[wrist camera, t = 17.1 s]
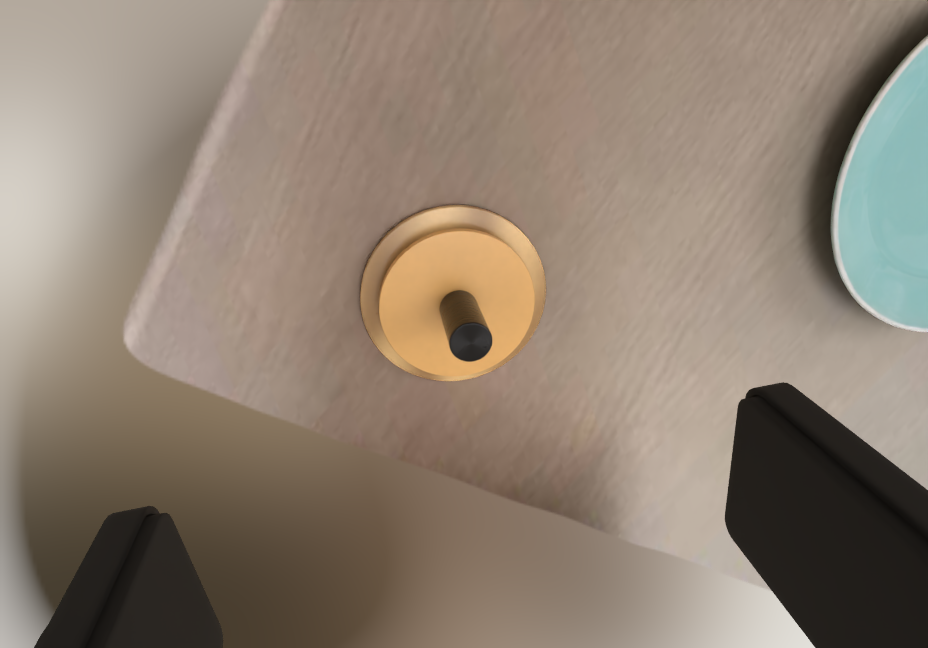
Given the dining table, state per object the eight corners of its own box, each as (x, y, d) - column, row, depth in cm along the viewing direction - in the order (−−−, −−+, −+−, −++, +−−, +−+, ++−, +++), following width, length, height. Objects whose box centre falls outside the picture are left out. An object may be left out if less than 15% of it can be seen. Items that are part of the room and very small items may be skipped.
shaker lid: (366, 357, 38) (366, 408, 32) (393, 211, 34) (398, 240, 28) (508, 376, 40) (531, 427, 34) (548, 241, 36) (580, 273, 31)
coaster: (346, 365, 38) (346, 369, 38) (377, 186, 34) (377, 188, 33) (517, 387, 41) (519, 391, 41) (566, 224, 37) (568, 226, 36)
